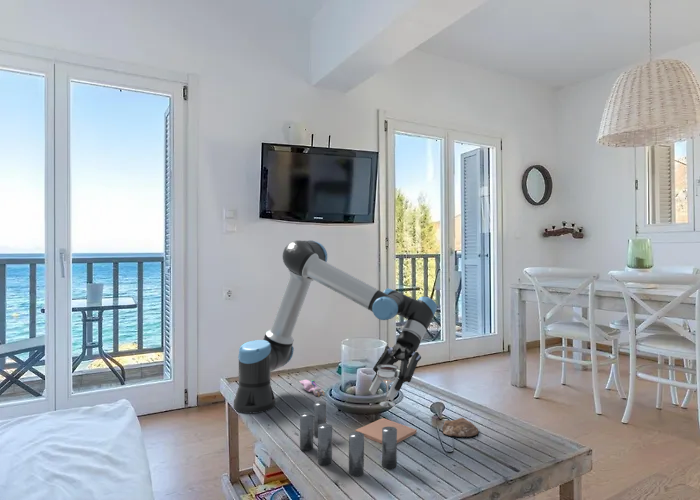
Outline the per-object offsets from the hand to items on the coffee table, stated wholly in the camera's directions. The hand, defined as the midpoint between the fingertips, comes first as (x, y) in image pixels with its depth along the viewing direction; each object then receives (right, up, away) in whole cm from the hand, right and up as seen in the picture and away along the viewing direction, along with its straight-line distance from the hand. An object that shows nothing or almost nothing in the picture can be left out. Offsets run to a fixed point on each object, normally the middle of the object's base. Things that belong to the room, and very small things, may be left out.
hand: (380, 395), depth 139 cm
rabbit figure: (-26, -13, +42) cm, 51 cm away
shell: (+26, -14, +5) cm, 30 cm away
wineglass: (+2, -4, +3) cm, 5 cm away
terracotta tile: (+2, -13, +3) cm, 13 cm away
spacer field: (-13, -13, -13) cm, 22 cm away
